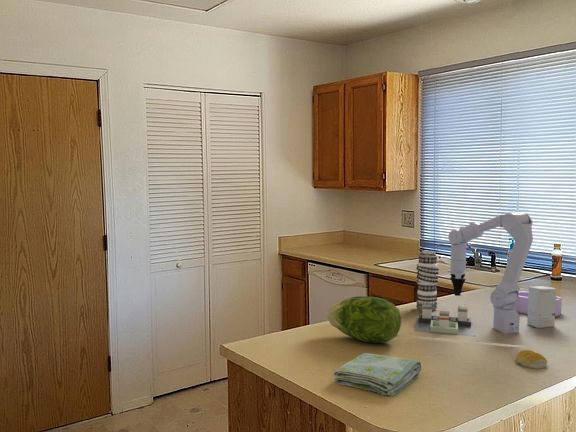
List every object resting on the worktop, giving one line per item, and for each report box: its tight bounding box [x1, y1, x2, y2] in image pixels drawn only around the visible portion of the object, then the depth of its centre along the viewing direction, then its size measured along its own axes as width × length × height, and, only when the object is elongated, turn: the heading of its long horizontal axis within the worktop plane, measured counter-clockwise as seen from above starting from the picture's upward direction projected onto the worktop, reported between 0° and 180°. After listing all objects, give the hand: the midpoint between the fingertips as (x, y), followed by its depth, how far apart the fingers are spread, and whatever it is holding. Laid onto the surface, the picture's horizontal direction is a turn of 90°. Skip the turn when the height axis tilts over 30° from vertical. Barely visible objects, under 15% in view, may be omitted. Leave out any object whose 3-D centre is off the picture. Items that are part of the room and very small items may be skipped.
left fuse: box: [421, 304, 433, 319], centre depth 212 cm, size 3×3×6 cm
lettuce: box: [326, 295, 402, 344], centre depth 191 cm, size 15×27×16 cm, turn 60°
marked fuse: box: [438, 310, 450, 328], centre depth 202 cm, size 4×4×6 cm
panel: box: [413, 314, 476, 337], centre depth 206 cm, size 19×21×3 cm
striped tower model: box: [415, 250, 440, 312], centre depth 232 cm, size 9×9×25 cm
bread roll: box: [515, 349, 548, 369], centre depth 169 cm, size 8×9×4 cm
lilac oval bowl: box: [515, 290, 563, 317], centre depth 233 cm, size 20×12×7 cm, turn 54°
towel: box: [333, 352, 422, 397], centre depth 155 cm, size 18×21×5 cm
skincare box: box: [526, 285, 557, 329], centre depth 210 cm, size 8×6×15 cm
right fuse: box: [457, 306, 468, 321], centre depth 209 cm, size 3×3×6 cm
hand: (457, 293), depth 219 cm, fingers open, 7 cm apart
